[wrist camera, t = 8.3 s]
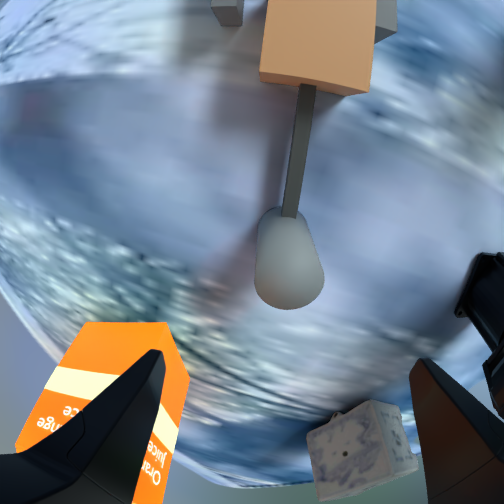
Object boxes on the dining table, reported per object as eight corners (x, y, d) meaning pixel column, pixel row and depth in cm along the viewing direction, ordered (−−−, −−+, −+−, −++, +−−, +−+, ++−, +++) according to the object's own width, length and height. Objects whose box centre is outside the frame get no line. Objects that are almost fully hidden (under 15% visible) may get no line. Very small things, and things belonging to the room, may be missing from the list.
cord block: (315, 256, 19) (332, 313, 14) (241, 248, 19) (232, 303, 14) (354, 11, 12) (391, -26, 6) (271, -5, 11) (274, -53, 6)
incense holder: (344, 439, 32) (352, 503, 23) (303, 426, 30) (307, 501, 21) (403, 406, 28) (423, 475, 19) (369, 388, 26) (389, 473, 17)
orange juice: (85, 320, 23) (-10, 499, 6) (166, 321, 22) (88, 563, 5) (117, 375, 27) (58, 533, 9) (191, 379, 26) (152, 571, 8)
